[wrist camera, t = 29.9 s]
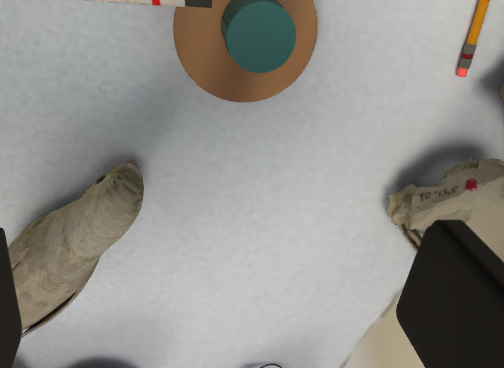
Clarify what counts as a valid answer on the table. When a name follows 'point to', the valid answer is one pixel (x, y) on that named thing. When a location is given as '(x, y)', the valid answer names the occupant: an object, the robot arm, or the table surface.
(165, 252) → the table surface
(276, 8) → the cap
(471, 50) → the pencil
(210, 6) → the marker
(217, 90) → the coaster
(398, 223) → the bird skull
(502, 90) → the bone
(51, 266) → the decorative bird
